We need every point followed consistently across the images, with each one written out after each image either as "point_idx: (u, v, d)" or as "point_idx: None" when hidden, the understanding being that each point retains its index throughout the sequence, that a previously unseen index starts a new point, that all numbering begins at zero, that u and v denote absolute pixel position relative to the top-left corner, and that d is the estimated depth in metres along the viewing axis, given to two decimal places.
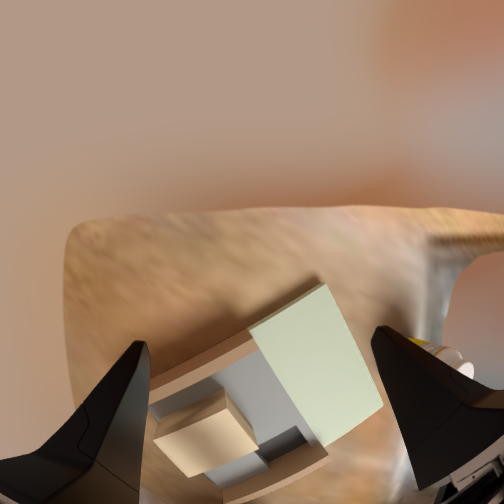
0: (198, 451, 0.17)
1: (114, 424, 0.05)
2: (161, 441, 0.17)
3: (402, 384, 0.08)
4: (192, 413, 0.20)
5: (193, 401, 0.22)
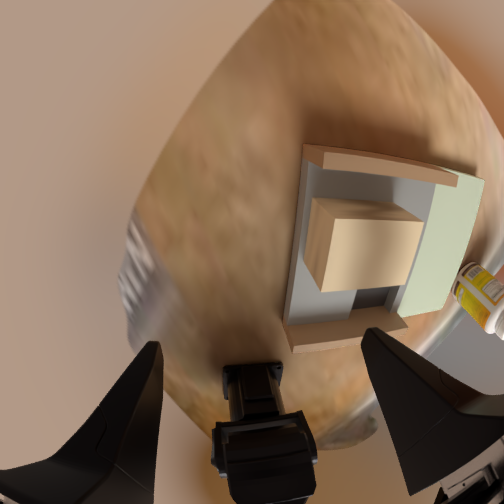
0: (365, 258, 0.16)
1: (132, 426, 0.05)
2: (343, 225, 0.15)
3: (392, 387, 0.08)
4: (372, 209, 0.17)
5: (361, 197, 0.19)
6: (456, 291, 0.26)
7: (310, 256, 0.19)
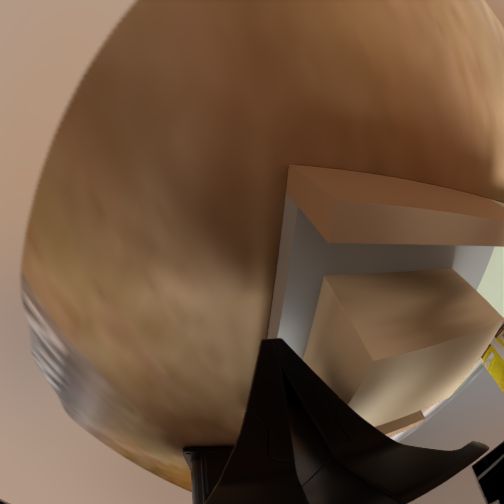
0: (408, 393, 0.08)
1: None
2: (385, 365, 0.06)
3: None
4: (432, 300, 0.08)
5: (393, 269, 0.10)
6: (484, 354, 0.17)
7: None
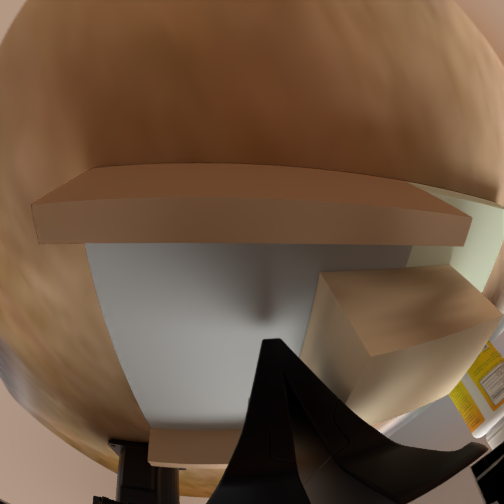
0: (407, 390, 0.08)
1: None
2: (383, 362, 0.06)
3: None
4: (429, 296, 0.08)
5: (213, 274, 0.09)
6: None
7: None
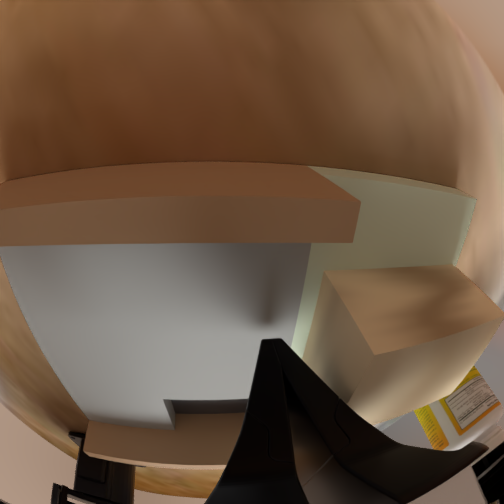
0: (409, 389, 0.08)
1: None
2: (387, 360, 0.06)
3: None
4: (433, 295, 0.08)
5: (86, 273, 0.08)
6: None
7: (313, 369, 0.10)
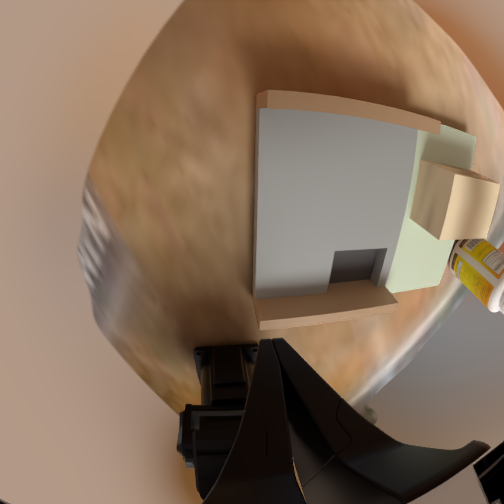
0: (467, 211, 0.16)
1: None
2: (458, 180, 0.14)
3: (288, 410, 0.07)
4: (465, 172, 0.16)
5: (326, 147, 0.16)
6: (454, 265, 0.24)
7: (421, 211, 0.18)
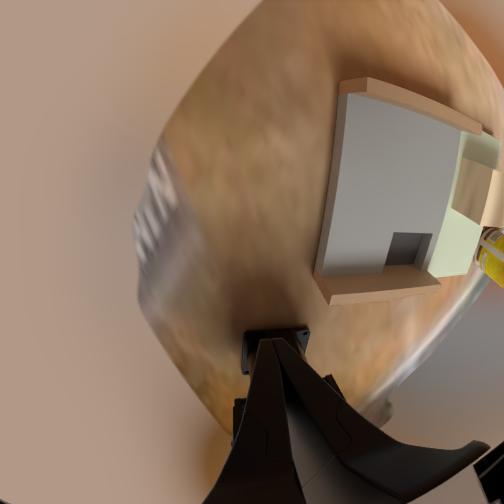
0: (500, 202, 0.16)
1: None
2: (495, 174, 0.15)
3: (288, 410, 0.07)
4: None
5: (396, 136, 0.17)
6: (479, 256, 0.24)
7: (463, 201, 0.19)
